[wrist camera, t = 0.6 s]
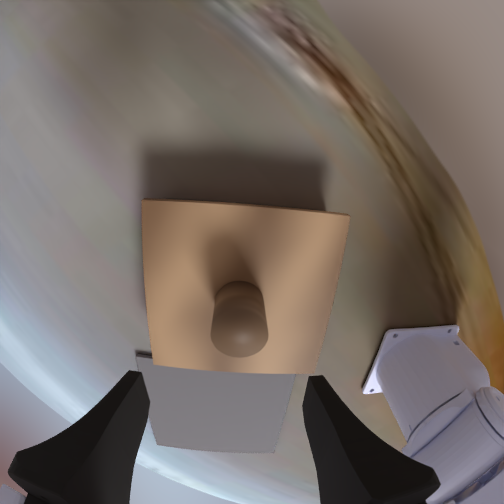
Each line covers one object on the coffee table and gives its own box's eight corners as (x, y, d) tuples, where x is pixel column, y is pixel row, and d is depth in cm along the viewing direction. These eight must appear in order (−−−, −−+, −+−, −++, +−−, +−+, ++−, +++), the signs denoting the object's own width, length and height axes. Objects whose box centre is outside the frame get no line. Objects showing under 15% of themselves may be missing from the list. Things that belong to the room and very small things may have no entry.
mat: (296, 365, 24) (297, 368, 24) (273, 450, 29) (273, 452, 29) (137, 353, 23) (135, 356, 23) (157, 442, 28) (157, 444, 28)
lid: (347, 213, 17) (375, 233, 13) (312, 368, 21) (323, 407, 17) (144, 198, 16) (118, 214, 12) (155, 359, 20) (142, 398, 16)
